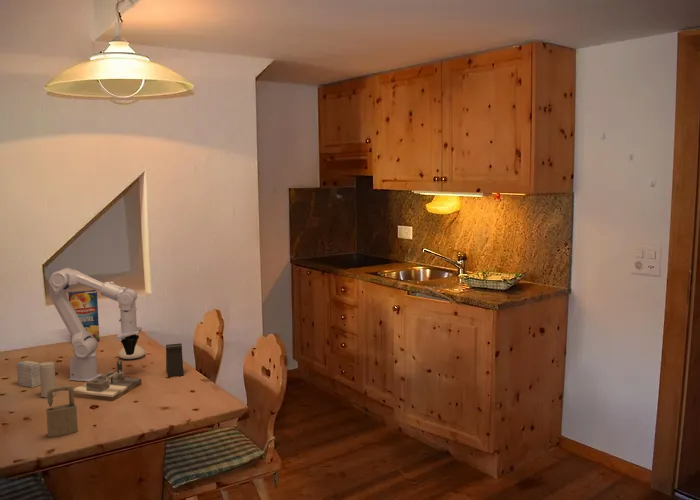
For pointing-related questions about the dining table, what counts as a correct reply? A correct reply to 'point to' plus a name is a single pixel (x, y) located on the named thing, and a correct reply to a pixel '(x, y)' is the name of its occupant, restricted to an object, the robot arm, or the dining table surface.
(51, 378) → the beige cylinder
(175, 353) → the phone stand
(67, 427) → the padlock
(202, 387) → the dining table surface
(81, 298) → the juice carton
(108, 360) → the dining table surface
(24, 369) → the grey upright block
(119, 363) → the bolt
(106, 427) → the dining table surface
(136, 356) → the flower in vase
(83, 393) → the door and jamb
